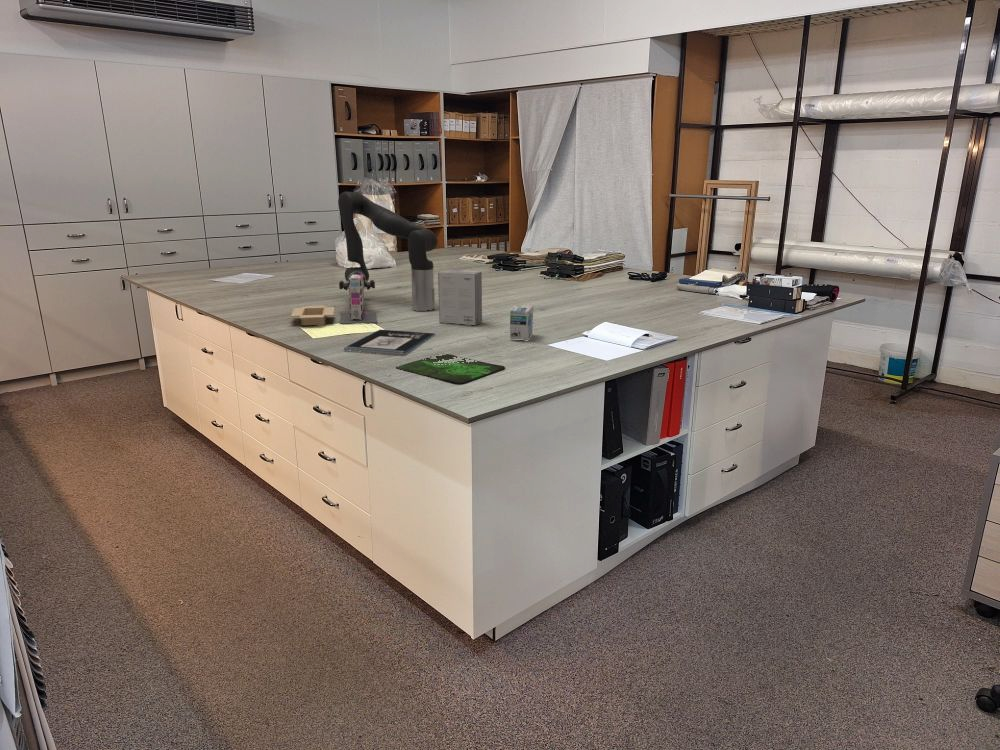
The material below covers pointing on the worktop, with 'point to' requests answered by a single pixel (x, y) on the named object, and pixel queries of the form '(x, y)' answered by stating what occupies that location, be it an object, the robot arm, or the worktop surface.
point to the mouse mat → (451, 369)
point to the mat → (366, 319)
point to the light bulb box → (521, 322)
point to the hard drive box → (460, 297)
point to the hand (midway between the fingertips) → (357, 287)
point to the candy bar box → (356, 297)
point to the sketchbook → (390, 342)
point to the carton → (313, 314)
